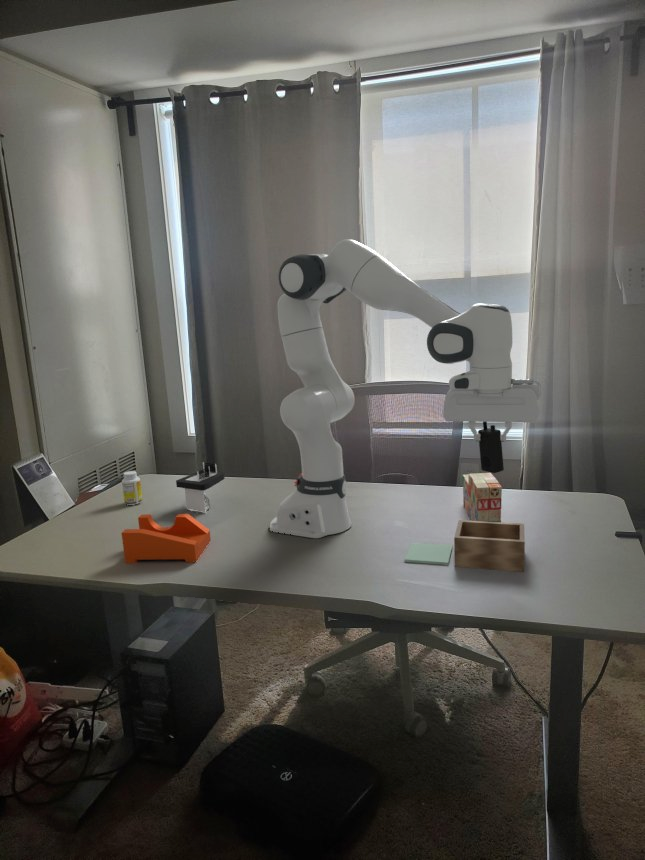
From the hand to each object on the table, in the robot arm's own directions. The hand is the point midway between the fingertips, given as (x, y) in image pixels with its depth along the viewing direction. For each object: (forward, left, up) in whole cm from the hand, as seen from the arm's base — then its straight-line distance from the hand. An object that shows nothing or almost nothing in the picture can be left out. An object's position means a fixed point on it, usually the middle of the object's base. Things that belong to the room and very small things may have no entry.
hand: (489, 441), depth 137 cm
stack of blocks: (-3, +27, -28) cm, 39 cm away
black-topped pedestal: (-85, +23, -29) cm, 93 cm away
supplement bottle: (-111, +23, -28) cm, 117 cm away
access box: (0, 0, -28) cm, 28 cm away
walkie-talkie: (0, 0, -7) cm, 7 cm away
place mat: (-14, 0, -28) cm, 31 cm away
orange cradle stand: (-78, -10, -29) cm, 84 cm away
